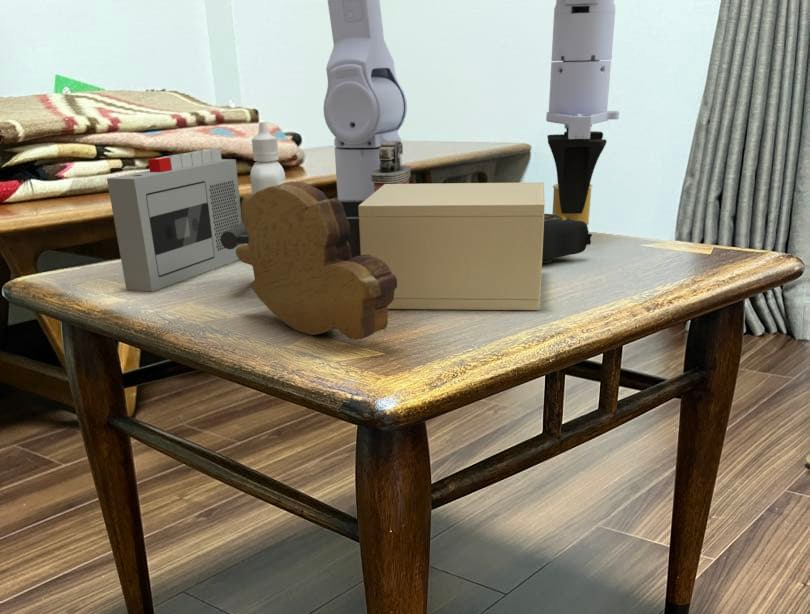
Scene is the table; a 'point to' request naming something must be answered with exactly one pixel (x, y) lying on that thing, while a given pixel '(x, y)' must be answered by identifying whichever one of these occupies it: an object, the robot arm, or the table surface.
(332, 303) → the wooden carving
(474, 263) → the lidded cardboard box
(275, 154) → the eye dropper bottle
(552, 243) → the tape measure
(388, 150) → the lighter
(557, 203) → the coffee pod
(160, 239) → the cassette player
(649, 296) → the table surface
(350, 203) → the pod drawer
